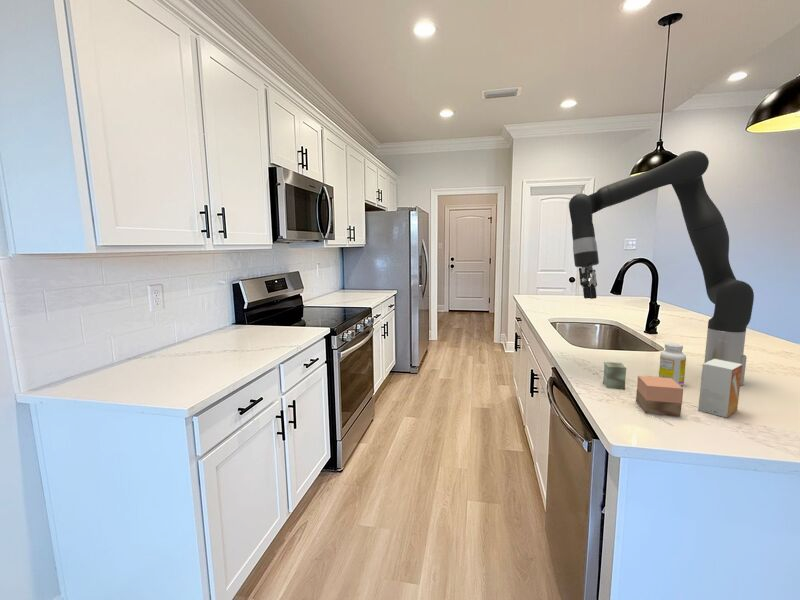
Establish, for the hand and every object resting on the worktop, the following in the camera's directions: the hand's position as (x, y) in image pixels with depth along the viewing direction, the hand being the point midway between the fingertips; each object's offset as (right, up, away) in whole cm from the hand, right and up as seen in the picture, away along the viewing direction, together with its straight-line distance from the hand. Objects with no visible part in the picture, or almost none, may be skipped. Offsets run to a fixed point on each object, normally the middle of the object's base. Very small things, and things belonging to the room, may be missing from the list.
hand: (590, 298), depth 128 cm
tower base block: (+4, -31, -27) cm, 41 cm away
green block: (+3, -28, -9) cm, 30 cm away
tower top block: (+4, -27, -27) cm, 38 cm away
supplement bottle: (+22, -28, -8) cm, 36 cm away
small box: (+20, -31, -28) cm, 46 cm away
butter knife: (+2, -32, -37) cm, 49 cm away
